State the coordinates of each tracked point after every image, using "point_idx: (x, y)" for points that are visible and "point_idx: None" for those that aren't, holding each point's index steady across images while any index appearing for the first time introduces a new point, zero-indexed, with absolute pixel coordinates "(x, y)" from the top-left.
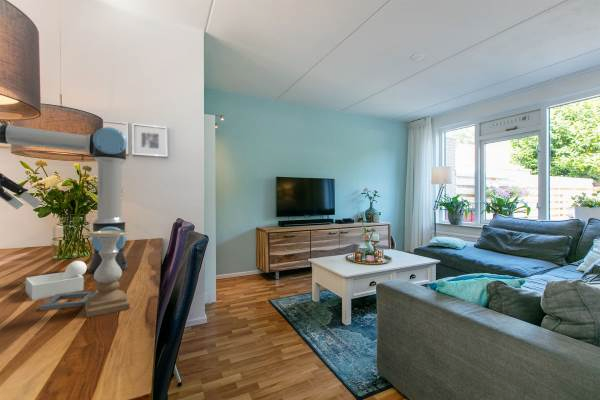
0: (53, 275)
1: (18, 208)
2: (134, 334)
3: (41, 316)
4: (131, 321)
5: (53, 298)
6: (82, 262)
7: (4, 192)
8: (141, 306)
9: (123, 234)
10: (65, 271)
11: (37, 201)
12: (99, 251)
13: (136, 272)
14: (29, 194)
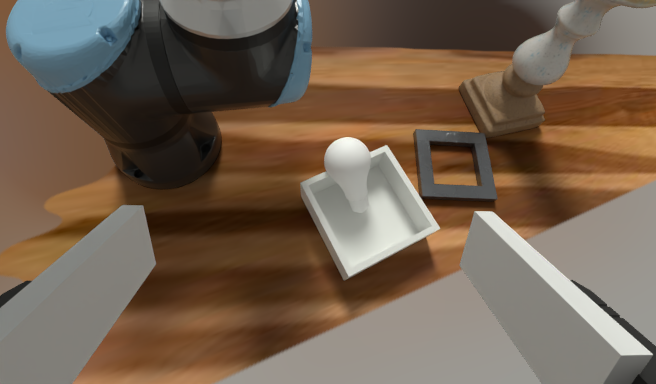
0: (326, 222)
1: (462, 259)
2: (600, 69)
3: (521, 189)
4: None
5: (450, 191)
6: (351, 139)
7: (645, 361)
8: (501, 65)
9: None
10: (360, 182)
11: (129, 226)
12: (589, 31)
13: None
14: (37, 301)
